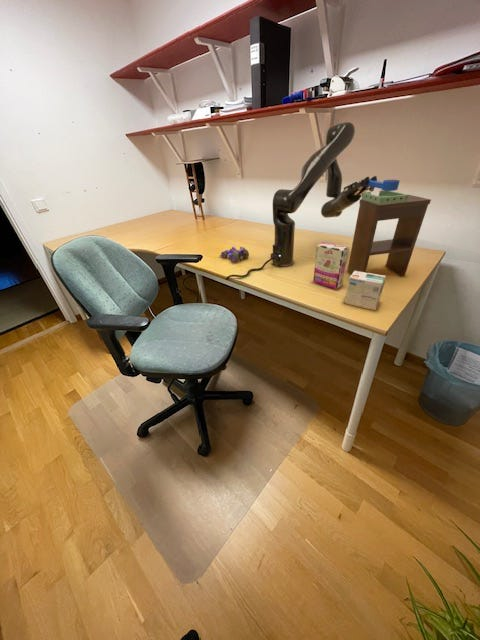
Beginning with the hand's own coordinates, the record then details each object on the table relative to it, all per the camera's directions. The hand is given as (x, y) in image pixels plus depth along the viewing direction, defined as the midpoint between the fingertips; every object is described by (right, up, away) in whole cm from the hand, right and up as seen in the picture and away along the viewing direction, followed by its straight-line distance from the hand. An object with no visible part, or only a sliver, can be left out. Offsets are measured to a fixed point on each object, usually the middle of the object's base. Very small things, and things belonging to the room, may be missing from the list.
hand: (372, 178), depth 98 cm
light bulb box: (-6, -48, -5) cm, 49 cm away
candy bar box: (-14, -39, +9) cm, 43 cm away
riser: (+8, -34, +13) cm, 38 cm away
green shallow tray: (+2, -10, -4) cm, 11 cm away
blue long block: (+1, -4, -2) cm, 5 cm away
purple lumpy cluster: (-55, -21, +40) cm, 71 cm away
